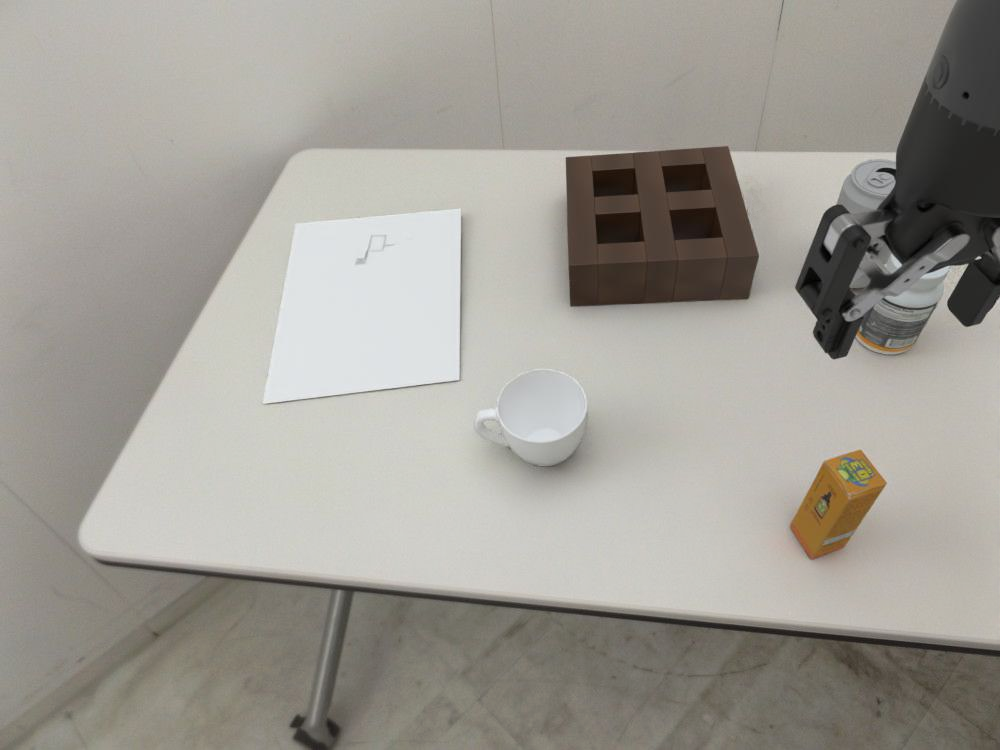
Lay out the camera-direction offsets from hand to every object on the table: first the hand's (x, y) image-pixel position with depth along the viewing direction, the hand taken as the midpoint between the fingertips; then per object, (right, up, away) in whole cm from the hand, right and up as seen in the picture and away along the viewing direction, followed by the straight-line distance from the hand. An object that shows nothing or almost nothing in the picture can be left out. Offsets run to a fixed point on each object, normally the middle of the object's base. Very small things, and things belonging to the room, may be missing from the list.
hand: (896, 332), depth 42 cm
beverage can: (+13, +8, +31) cm, 34 cm away
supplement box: (+1, -16, +13) cm, 21 cm away
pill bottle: (+13, +1, +25) cm, 28 cm away
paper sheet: (-39, +6, +36) cm, 53 cm away
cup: (-21, -9, +22) cm, 32 cm away
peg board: (-7, +12, +37) cm, 39 cm away
